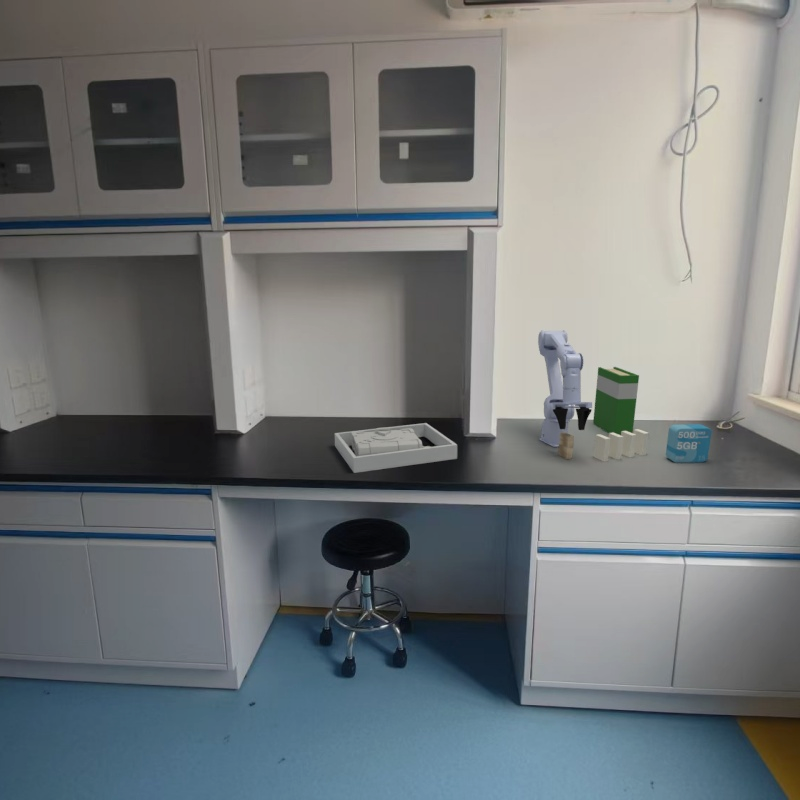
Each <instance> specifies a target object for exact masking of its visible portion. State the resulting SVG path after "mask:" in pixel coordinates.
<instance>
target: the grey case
mask: <svg viewBox="0 0 800 800" xmlns="http://www.w3.org/2000/svg"><path fill="white" fill-rule="evenodd" d="M389 427H390V426H388V427H387V426H386V427H377V428H374V429H375V432H352V440H354V443H352V445H351V447H352V452H353V451H354V452H353V453H354V454H355V455H356V456H364V455H372V454H380V453H388V452H395V451H403V450H411V449H419V448H427V447H431V446H430V445H427V446H424V445H423V441H422V439H420V437H417V436H416V434H415V432H414V430H413V429H412V428H407V429H401V430H391V429H390V428H389Z"/></svg>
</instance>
